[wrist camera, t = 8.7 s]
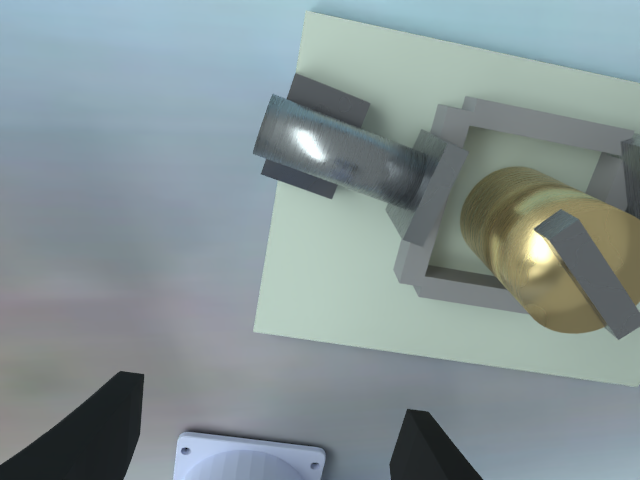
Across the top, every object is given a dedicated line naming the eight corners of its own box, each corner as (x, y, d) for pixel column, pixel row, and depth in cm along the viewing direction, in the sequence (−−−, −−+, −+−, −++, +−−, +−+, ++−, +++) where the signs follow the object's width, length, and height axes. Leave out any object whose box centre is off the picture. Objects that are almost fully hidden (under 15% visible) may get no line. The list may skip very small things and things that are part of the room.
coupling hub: (578, 222, 21) (695, 291, 15) (494, 280, 22) (572, 369, 15) (525, 143, 19) (631, 182, 13) (439, 208, 20) (500, 274, 14)
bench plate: (627, 377, 25) (656, 405, 23) (254, 322, 23) (250, 348, 21) (761, 111, 20) (814, 117, 18) (305, 12, 18) (306, 6, 16)
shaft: (433, 127, 20) (472, 146, 15) (394, 211, 21) (420, 252, 17) (284, 67, 19) (279, 68, 14) (253, 160, 20) (239, 188, 16)
